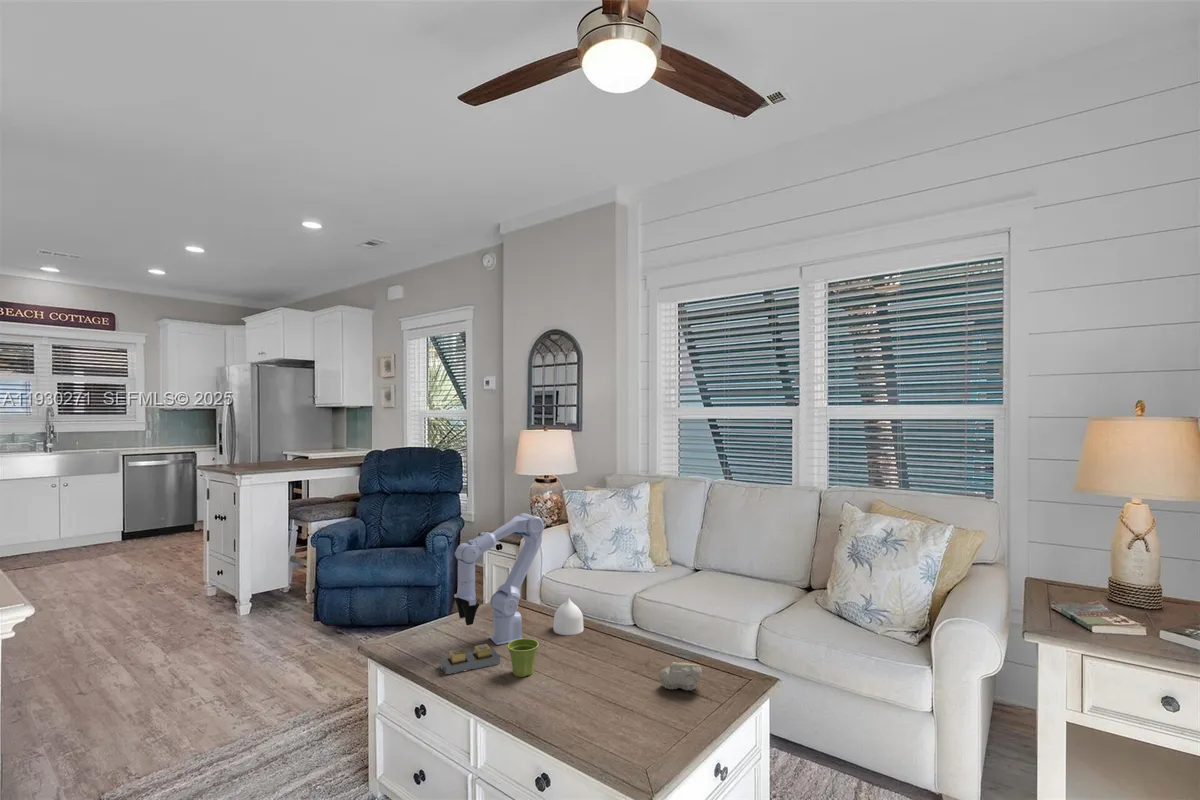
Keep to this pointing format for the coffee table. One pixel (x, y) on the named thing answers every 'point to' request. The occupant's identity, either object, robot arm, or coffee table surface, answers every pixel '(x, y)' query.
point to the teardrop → (568, 619)
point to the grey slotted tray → (470, 663)
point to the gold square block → (456, 656)
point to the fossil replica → (680, 676)
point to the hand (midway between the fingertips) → (466, 621)
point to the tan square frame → (482, 651)
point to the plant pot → (523, 656)
